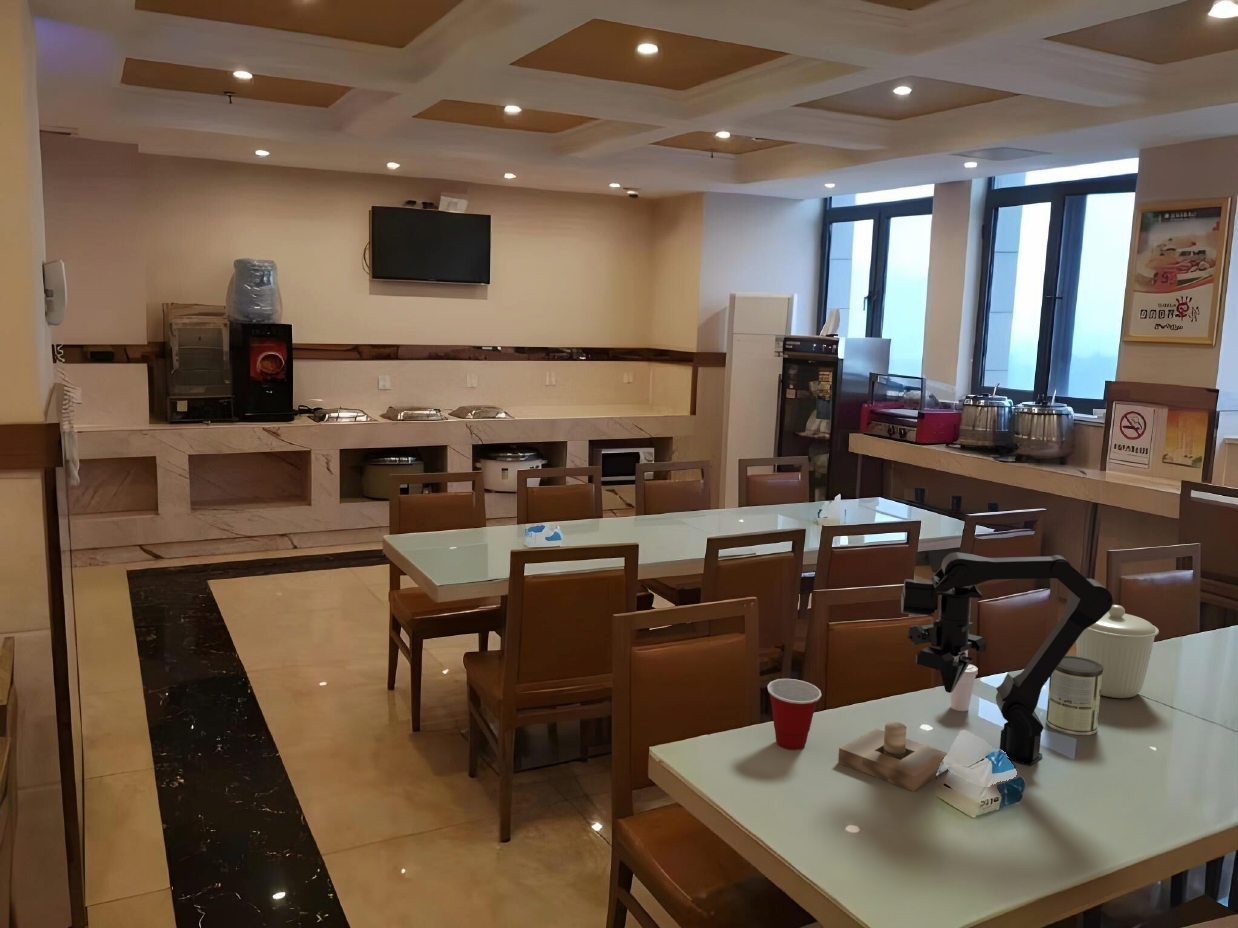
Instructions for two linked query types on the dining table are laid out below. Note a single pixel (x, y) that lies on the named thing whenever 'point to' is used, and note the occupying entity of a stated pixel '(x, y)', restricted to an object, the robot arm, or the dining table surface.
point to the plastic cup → (792, 711)
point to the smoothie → (964, 689)
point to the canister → (1119, 651)
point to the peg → (895, 740)
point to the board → (892, 760)
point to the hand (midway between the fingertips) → (948, 691)
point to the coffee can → (1075, 696)
